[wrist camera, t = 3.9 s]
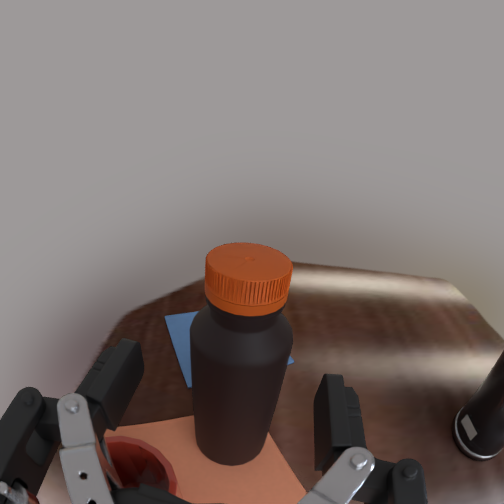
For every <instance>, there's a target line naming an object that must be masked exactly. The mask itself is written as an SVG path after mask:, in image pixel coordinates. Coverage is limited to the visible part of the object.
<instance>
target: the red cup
mask: <svg viewBox="0 0 504 504" xmlns="http://www.w3.org/2000/svg"><path fill="white" fill-rule="evenodd" d="M105 439H106V443H107V446H108V449H109V452H110V455H111V458H112V462H113V464H114V467H115V470H116V472H117V474H118V476H119V478H120V480H121V482H122V485H123V487H124V488H129V487H137V488H139V486H140V483H143V484H146V485H149V486H152V487H155V488H159V489H162V490H166V491H168V492H170V493H171V494H173V495H175V496H177V497H179V498H181V499H183V496H182V493H181V490H180V487H179V484H178V481H177V479H176V476H175V473H174V470H173V467H172V465H171V463H170V462H169V461H168V460H167V459H166V458H165V456H164V455H163V454H162V453H161V452H160V451H159V450H158V449H157V448H155V447H153V446H151V445H149V444H148V443H146V442H144V441H142V440H140V439H135V438H130V437H126V436H112V437H105ZM183 500H184V499H183Z"/></svg>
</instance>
